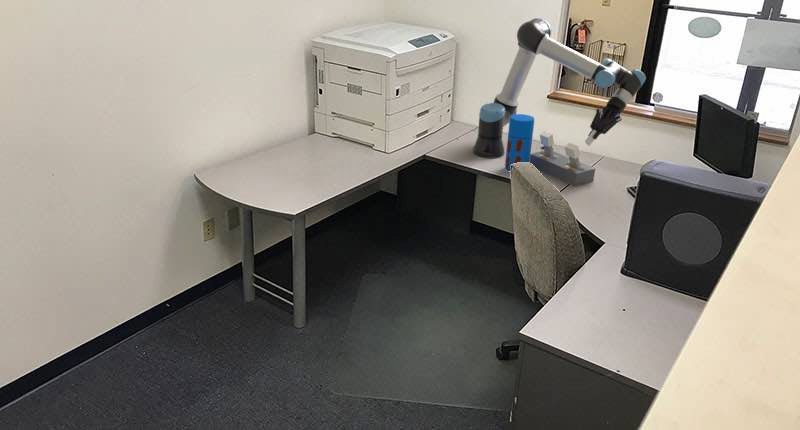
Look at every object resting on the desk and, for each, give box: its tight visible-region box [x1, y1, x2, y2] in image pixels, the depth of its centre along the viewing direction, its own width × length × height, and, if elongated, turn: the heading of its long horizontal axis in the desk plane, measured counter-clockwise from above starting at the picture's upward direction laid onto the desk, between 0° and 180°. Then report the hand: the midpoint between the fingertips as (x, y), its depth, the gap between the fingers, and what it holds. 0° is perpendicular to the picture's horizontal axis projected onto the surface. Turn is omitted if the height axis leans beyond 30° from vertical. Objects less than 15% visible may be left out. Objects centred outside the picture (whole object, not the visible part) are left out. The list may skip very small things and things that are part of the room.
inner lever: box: [539, 130, 555, 157], centre depth 284 cm, size 5×3×11 cm, turn 34°
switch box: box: [529, 149, 596, 187], centre depth 283 cm, size 28×12×7 cm, turn 34°
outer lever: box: [564, 142, 581, 168], centre depth 272 cm, size 5×3×11 cm, turn 34°
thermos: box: [504, 113, 535, 171], centre depth 281 cm, size 11×11×25 cm
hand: (587, 143), depth 274 cm, fingers closed
